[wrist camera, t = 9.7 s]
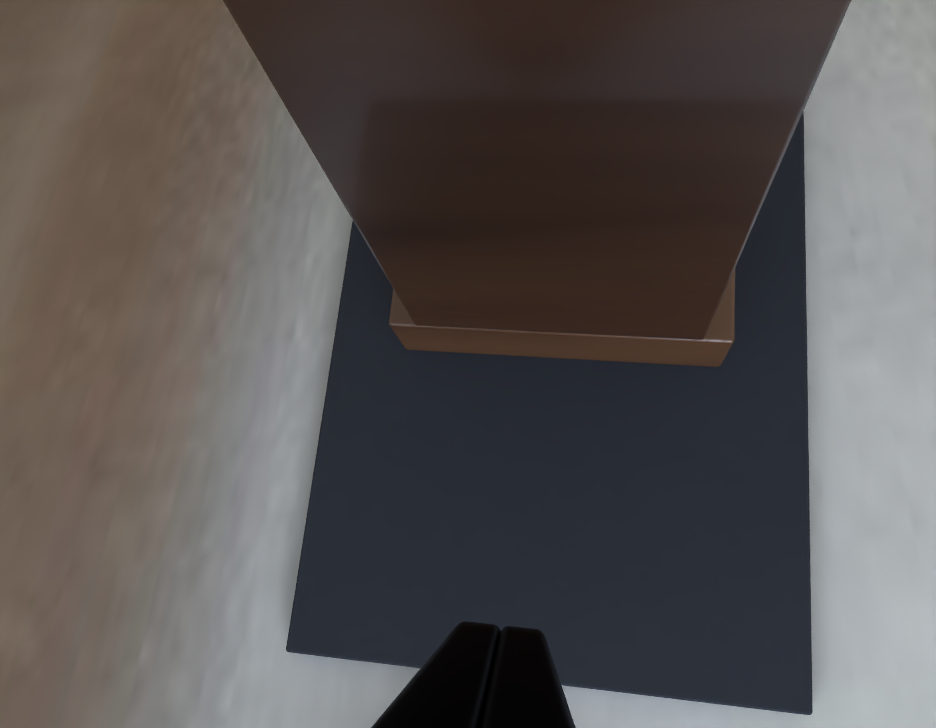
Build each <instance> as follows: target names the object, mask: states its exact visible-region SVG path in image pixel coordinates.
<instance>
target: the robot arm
mask: <svg viewBox="0 0 936 728" xmlns="http://www.w3.org/2000/svg"><path fill="white" fill-rule="evenodd" d="M372 728H575V725H574V722H573V719H572V716H571V713H570V710H569V707H568V704H567V701H566V698H565V695H564V692H563V689H562V686H561V683H560V680H559V677H558V674H557V671H556V668H555V665H554V662H553V659H552V656H551V653H550V649H549V646H548V643H547V640H546V638H545V635H544V634H543V632H542V631H540V630H538V629H532V628H523V627H513V626H506V627H504V628H503V629H502V631H501V630H500V628H499V627H498V626H496V625H494V624H486V623H477V622H468V621H464V622H461V623H459V624H458V625H457V626H456V627H455V628H454V629H453V630H452V631H451V633H450V634H449V635H448V636H447V637H446V639H445V640H444V641H443V642H442V643H441V645H440V646H439V647H438V648H437V649H436V651H435V652H434V653H433V654H432V655H431V657H430V658H429V659H428V660H427V661H426V663H425V664H424V665H423V666H422V667H421V669H420V670H419V671H418V672H417V673H416V675H415V676H414V677H413V678H412V679H411V681H410V682H409V683H408V684H407V685H406V687H405V688H404V689H403V690H402V691H401V693H400V694H399V695H398V696H397V697H396V699H395V700H394V701H393V702H392V703H391V705H390V706H389V707H388V708H387V709H386V711H385V712H384V713H383V714H382V715H381V717H380V718H379V719H378V720H377V722H376V723H375V724H374V725H373V726H372Z"/></svg>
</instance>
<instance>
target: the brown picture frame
mask: <svg viewBox="0 0 936 728" xmlns="http://www.w3.org/2000/svg"><path fill="white" fill-rule="evenodd" d="M223 1H224V3H225V4H226V6H227V8H228V9H229V11H230V13H231V15H232V16H233V18H234V20H235V21H236V23H237V25H238V26H239V28H240V30H241V31H242V33H243V35H244V37H245V38H246V40H247V42H248V43H249V45H250V47H251V48H252V50H253V52H254V53H255V55H256V57H257V59H258V60H259V62H260V64H261V65H262V67H263V69H264V70H265V72H266V74H267V75H268V77H269V79H270V81H271V82H272V84H273V86H274V87H275V89H276V91H277V92H278V94H279V96H280V97H281V99H282V101H283V103H284V104H285V106H286V108H287V109H288V111H289V113H290V114H291V116H292V118H293V119H294V121H295V123H296V125H297V126H298V128H299V130H300V131H301V133H302V135H303V136H304V138H305V140H306V141H307V143H308V145H309V147H310V148H311V150H312V152H313V153H314V155H315V157H316V158H317V160H318V162H319V163H320V165H321V167H322V169H323V170H324V172H325V174H326V175H327V177H328V179H329V180H330V182H331V184H332V185H333V187H334V189H335V191H336V192H337V194H338V196H339V197H340V199H341V201H342V202H343V204H344V206H345V207H346V209H347V211H348V213H349V214H350V216H351V218H352V219H353V221H354V223H355V224H356V226H357V228H358V229H359V231H360V233H361V235H362V236H363V238H364V240H365V241H366V243H367V245H368V246H369V248H370V250H371V251H372V253H373V255H374V257H375V258H376V260H377V262H378V263H379V265H380V267H381V268H382V270H383V272H384V273H385V275H386V277H387V279H388V280H389V282H390V284H391V285H392V287H393V294H392V301H391V309H390V316H389V325H390V327H391V328H392V330H393V331H394V333H395V334H396V336H397V337H398V339H399V340H400V342H401V343H402V345H403V346H404V347H405V348H406V349H408V350H422V351H440V352H458V353H475V354H493V355H511V356H529V357H547V358H565V359H583V360H601V361H619V362H636V363H654V364H672V365H690V366H708V367H718V366H721V364H722V362H723V360H724V359H725V357H726V355H727V353H728V351H729V349H730V348H731V346H732V344H733V342H734V340H735V267H736V264H737V262H738V260H739V257H740V255H741V253H742V251H743V248H744V246H745V244H746V241H747V239H748V237H749V234H750V232H751V230H752V228H753V225H754V223H755V221H756V218H757V216H758V214H759V211H760V209H761V207H762V204H763V202H764V200H765V198H766V195H767V193H768V191H769V188H770V186H771V184H772V181H773V179H774V177H775V175H776V172H777V170H778V168H779V165H780V163H781V161H782V158H783V156H784V154H785V152H786V149H787V147H788V145H789V142H790V140H791V138H792V135H793V133H794V131H795V128H796V126H797V124H798V122H799V119H800V117H801V115H802V112H803V110H804V108H805V105H806V103H807V101H808V99H809V96H810V94H811V92H812V89H813V87H814V85H815V82H816V80H817V78H818V76H819V73H820V71H821V69H822V66H823V64H824V62H825V59H826V57H827V55H828V52H829V50H830V48H831V46H832V43H833V41H834V39H835V36H836V34H837V32H838V29H839V27H840V25H841V23H842V20H843V18H844V16H845V13H846V11H847V9H848V6H849V4H850V2H851V0H223Z"/></svg>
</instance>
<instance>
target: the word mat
mask: <svg viewBox="0 0 936 728" xmlns="http://www.w3.org/2000/svg"><path fill="white" fill-rule="evenodd" d="M392 294H393V287H392V285H391V284H390V282H389V280H388V279H387V277H386V275H385V273H384V272H383V270H382V268H381V267H380V265H379V263H378V262H377V260H376V258H375V257H374V255H373V253H372V251H371V250H370V248H369V246H368V245H367V243H366V241H365V240H364V238H363V236H362V235H361V233H360V231H359V229H358V228H357V226H356V224H355V223H354V221H353V222H352V229H351V235H350V242H349V248H348V255H347V261H346V267H345V274H344V280H343V287H342V293H341V300H340V306H339V312H338V319H337V325H336V332H335V338H334V345H333V351H332V357H331V364H330V370H329V377H328V383H327V390H326V396H325V402H324V409H323V415H322V422H321V428H320V435H319V441H318V447H317V454H316V460H315V467H314V473H313V480H312V486H311V492H310V499H309V505H308V512H307V518H306V525H305V531H304V538H303V544H302V550H301V557H300V563H299V570H298V576H297V583H296V589H295V595H294V602H293V608H292V615H291V621H290V628H289V634H288V640H287V647H286V651H287V652H292V653H300V654H309V655H317V656H325V657H333V658H342V659H350V660H358V661H366V662H375V663H383V664H391V665H400V666H408V667H416V668H421V667H422V666H423V665H424V664H425V663H426V661H427V660H428V659H429V658H430V657H431V655H432V654H433V653H434V652H435V651H436V649H437V648H438V647H439V646H440V645H441V643H442V642H443V641H444V640H445V639H446V637H447V636H448V635H449V634H450V633H451V631H452V630H453V629H454V628H455V627H456V626H457V625H458V624H459V623H461V622H464V621H468V622H477V623H486V624H494V625H496V626H498V627H499V628H500V630H501V631H502V629H503V628H504V627H506V626H513V627H523V628H532V629H538V630H540V631H542V632H543V634H544V635H545V638H546V640H547V643H548V646H549V649H550V653H551V656H552V659H553V662H554V665H555V668H556V671H557V674H558V677H559V680H560V683H561V685H565V686H573V687H581V688H590V689H598V690H606V691H615V692H623V693H631V694H639V695H648V696H656V697H664V698H672V699H681V700H689V701H697V702H705V703H714V704H722V705H730V706H739V707H747V708H755V709H763V710H772V711H780V712H788V713H796V714H805V715H811V714H812V654H811V587H810V520H809V453H808V386H807V318H806V251H805V184H804V117H803V112H802V115H801V117H800V119H799V122H798V124H797V126H796V128H795V131H794V133H793V135H792V138H791V140H790V142H789V145H788V147H787V149H786V152H785V154H784V156H783V158H782V161H781V163H780V165H779V168H778V170H777V172H776V175H775V177H774V179H773V181H772V184H771V186H770V188H769V191H768V193H767V195H766V198H765V200H764V202H763V204H762V207H761V209H760V211H759V214H758V216H757V218H756V221H755V223H754V225H753V228H752V230H751V232H750V234H749V237H748V239H747V241H746V244H745V246H744V248H743V251H742V253H741V255H740V257H739V260H738V262H737V264H736V267H735V340H734V342H733V344H732V346H731V348H730V349H729V351H728V353H727V355H726V357H725V359H724V360H723V362H722V364H721V366H718V367H708V366H690V365H672V364H654V363H636V362H619V361H601V360H583V359H565V358H547V357H529V356H511V355H493V354H475V353H458V352H440V351H422V350H408V349H406V348H405V347H404V346H403V345H402V343H401V342H400V340H399V339H398V337H397V336H396V334H395V333H394V331H393V330H392V328H391V327H390V325H389V316H390V309H391V301H392Z"/></svg>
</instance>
